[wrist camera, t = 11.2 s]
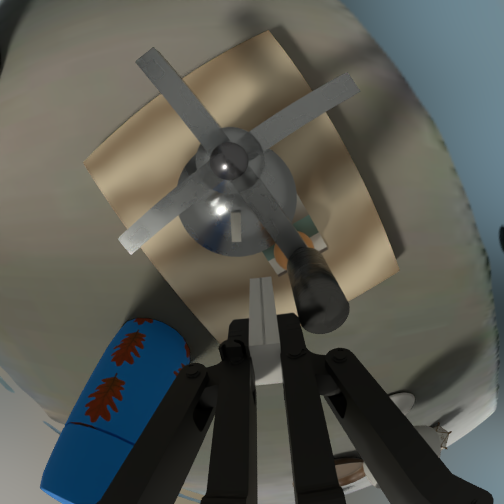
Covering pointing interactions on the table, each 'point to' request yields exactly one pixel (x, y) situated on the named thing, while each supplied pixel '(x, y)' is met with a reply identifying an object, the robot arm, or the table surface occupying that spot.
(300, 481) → the robot arm
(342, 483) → the plant saucer
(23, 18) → the table surface
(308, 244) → the ball
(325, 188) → the stand base
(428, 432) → the chalice
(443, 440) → the game die
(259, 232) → the grey cross
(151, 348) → the thermos
